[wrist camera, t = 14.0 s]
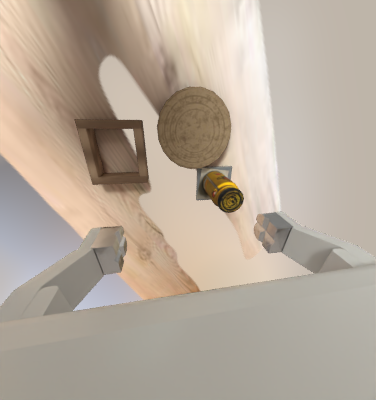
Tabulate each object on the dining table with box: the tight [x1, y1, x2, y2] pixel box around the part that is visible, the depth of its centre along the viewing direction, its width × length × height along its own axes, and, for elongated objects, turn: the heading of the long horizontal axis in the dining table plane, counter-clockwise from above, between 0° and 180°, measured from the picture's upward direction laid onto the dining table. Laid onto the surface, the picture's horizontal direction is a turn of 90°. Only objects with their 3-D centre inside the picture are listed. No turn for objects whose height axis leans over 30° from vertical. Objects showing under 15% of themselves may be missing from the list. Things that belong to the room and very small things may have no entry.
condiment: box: [197, 168, 244, 213], centre depth 36 cm, size 7×8×12 cm
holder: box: [75, 119, 149, 185], centre depth 33 cm, size 13×12×4 cm
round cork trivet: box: [157, 87, 231, 169], centre depth 34 cm, size 16×16×3 cm
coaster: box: [196, 166, 232, 200], centre depth 41 cm, size 9×9×1 cm
